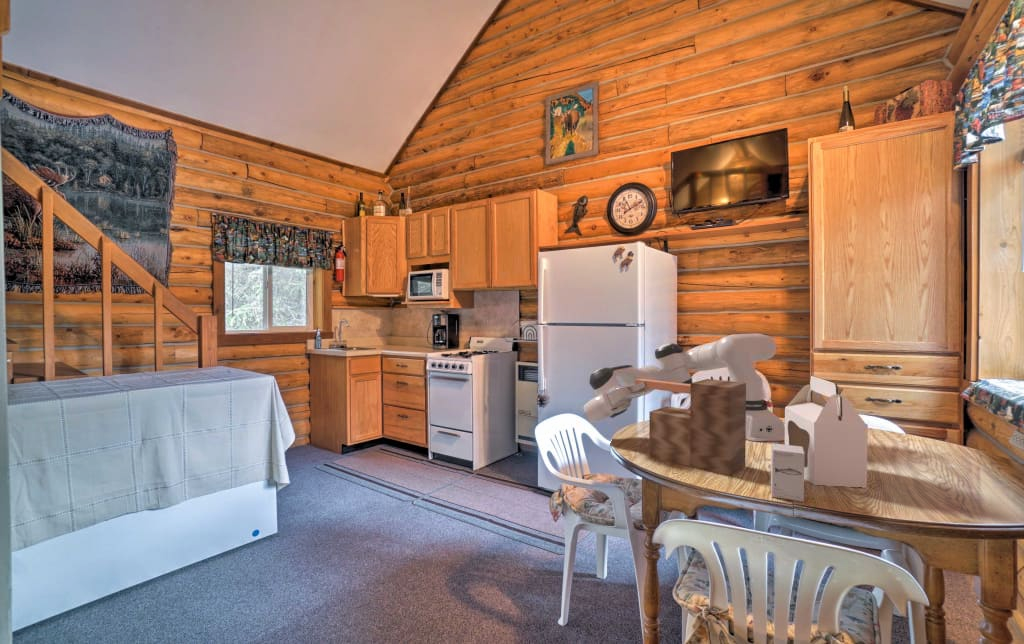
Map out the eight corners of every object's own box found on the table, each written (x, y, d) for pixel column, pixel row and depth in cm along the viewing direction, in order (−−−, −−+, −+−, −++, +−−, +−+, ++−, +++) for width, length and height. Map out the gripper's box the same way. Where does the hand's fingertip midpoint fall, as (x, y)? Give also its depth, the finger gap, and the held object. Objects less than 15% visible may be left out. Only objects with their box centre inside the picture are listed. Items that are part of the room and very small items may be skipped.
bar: (695, 392, 153) (695, 384, 153) (690, 393, 151) (690, 386, 150) (640, 385, 167) (640, 378, 167) (635, 386, 165) (635, 379, 165)
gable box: (867, 489, 128) (869, 386, 128) (813, 486, 131) (815, 384, 130) (829, 462, 150) (830, 374, 149) (784, 460, 153) (784, 373, 152)
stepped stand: (745, 466, 147) (745, 382, 146) (729, 476, 139) (730, 387, 138) (667, 449, 166) (667, 374, 165) (649, 456, 157) (649, 378, 157)
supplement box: (771, 497, 123) (771, 449, 123) (770, 488, 130) (771, 442, 129) (804, 503, 120) (805, 453, 119) (802, 492, 126) (802, 445, 126)
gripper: (638, 402, 178) (668, 387, 169) (606, 410, 164) (636, 395, 155) (630, 386, 180) (659, 371, 171) (598, 393, 166) (628, 377, 157)
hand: (648, 382), depth 163 cm, fingers closed on bar, 3 cm apart
